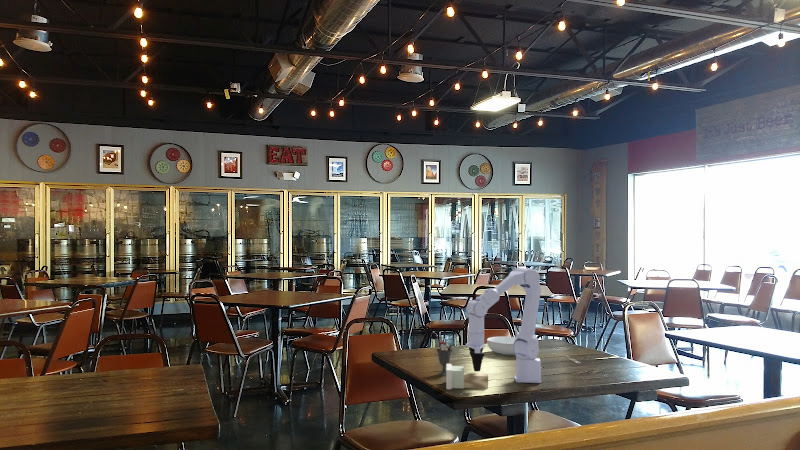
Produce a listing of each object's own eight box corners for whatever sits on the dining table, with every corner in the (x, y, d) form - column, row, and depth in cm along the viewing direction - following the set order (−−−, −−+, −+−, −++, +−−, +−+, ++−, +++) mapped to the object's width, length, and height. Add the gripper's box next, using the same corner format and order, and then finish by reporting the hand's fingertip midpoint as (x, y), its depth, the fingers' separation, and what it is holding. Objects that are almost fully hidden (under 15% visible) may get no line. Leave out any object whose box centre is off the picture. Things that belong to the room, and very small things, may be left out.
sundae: (433, 372, 238) (433, 336, 238) (447, 371, 240) (448, 335, 240) (439, 376, 232) (440, 339, 232) (454, 375, 234) (455, 338, 234)
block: (463, 382, 221) (463, 366, 222) (464, 388, 213) (464, 371, 213) (451, 382, 222) (451, 365, 222) (451, 388, 214) (451, 370, 214)
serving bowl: (536, 352, 282) (536, 338, 282) (521, 360, 264) (521, 345, 264) (497, 348, 293) (497, 334, 293) (479, 355, 275) (479, 340, 275)
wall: (451, 381, 223) (451, 363, 223) (451, 389, 212) (451, 370, 212) (446, 381, 223) (446, 363, 224) (446, 389, 212) (446, 370, 213)
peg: (487, 385, 219) (487, 373, 219) (488, 388, 215) (488, 376, 215) (455, 384, 220) (455, 372, 220) (455, 387, 216) (455, 375, 216)
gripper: (465, 329, 225) (465, 364, 225) (466, 335, 210) (466, 373, 210) (483, 329, 224) (483, 364, 224) (485, 336, 210) (486, 373, 210)
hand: (476, 368), depth 217 cm, fingers open, 7 cm apart
